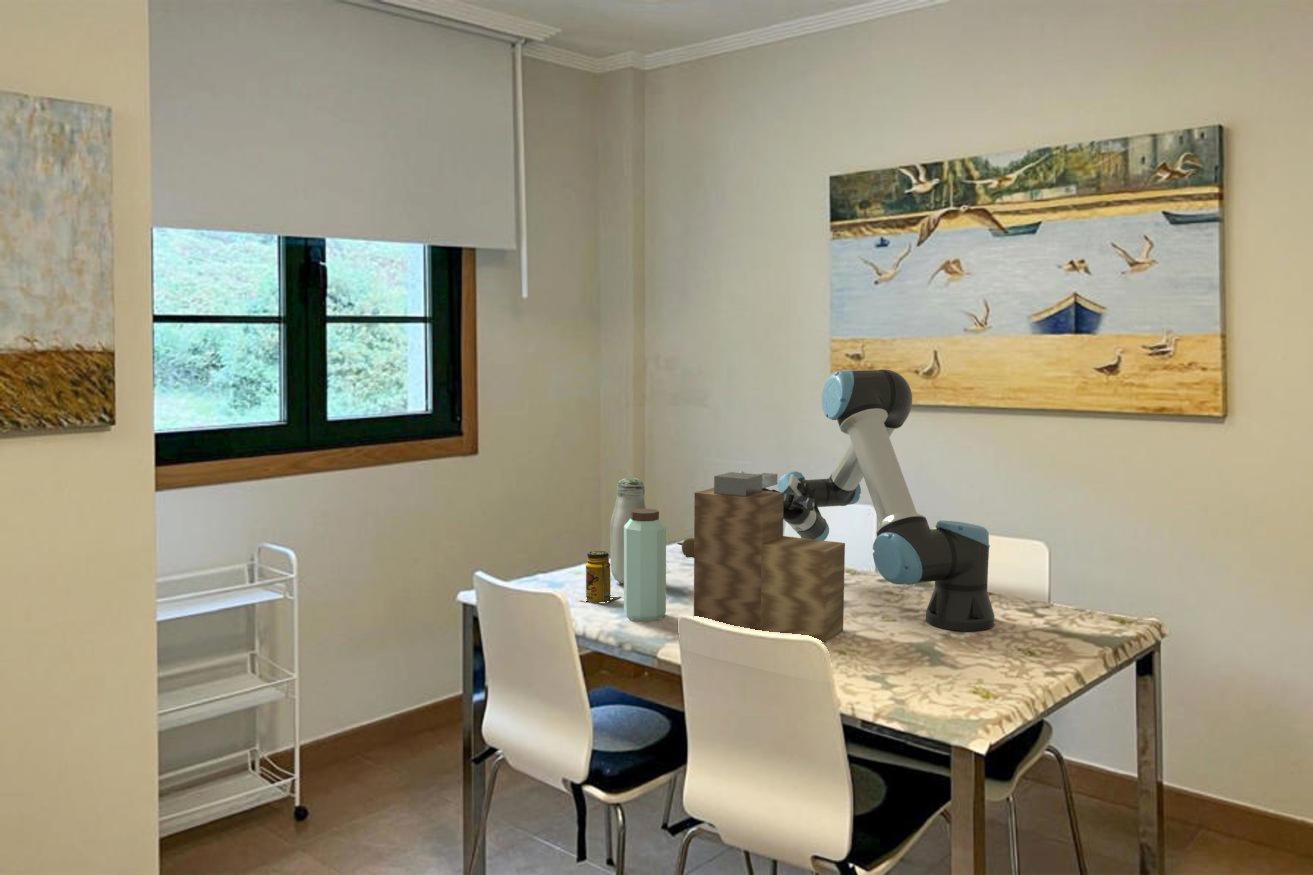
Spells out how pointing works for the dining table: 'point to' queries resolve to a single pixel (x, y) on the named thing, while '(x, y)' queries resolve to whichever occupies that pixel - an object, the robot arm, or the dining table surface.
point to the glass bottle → (623, 520)
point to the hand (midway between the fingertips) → (764, 477)
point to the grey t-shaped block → (743, 483)
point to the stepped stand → (764, 568)
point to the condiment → (598, 577)
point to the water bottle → (644, 566)
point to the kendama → (688, 547)
